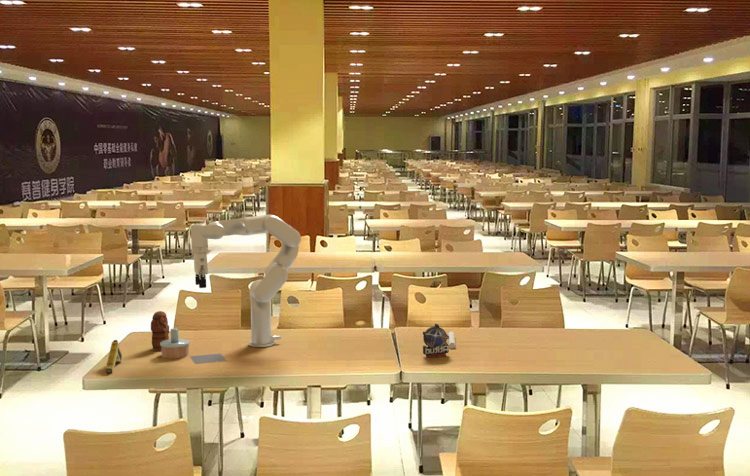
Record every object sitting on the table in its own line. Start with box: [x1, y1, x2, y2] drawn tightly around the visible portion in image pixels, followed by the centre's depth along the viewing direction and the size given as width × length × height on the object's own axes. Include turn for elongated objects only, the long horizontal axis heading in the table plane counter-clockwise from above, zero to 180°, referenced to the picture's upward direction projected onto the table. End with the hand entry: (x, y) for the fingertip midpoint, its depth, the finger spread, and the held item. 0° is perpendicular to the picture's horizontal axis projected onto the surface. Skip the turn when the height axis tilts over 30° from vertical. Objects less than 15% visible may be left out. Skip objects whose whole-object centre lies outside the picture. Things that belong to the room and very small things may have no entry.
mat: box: [189, 353, 228, 365], centre depth 375 cm, size 14×14×1 cm
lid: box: [160, 327, 190, 348], centre depth 380 cm, size 13×13×7 cm
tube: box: [447, 331, 456, 349], centre depth 405 cm, size 3×3×25 cm
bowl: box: [160, 344, 190, 360], centre depth 381 cm, size 12×12×6 cm
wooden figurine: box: [150, 310, 170, 352], centre depth 394 cm, size 12×6×18 cm, turn 175°
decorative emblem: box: [422, 323, 450, 359], centre depth 377 cm, size 12×2×15 cm, turn 108°
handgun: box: [105, 339, 123, 374], centre depth 361 cm, size 2×19×12 cm
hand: (200, 286), depth 390 cm, fingers open, 9 cm apart
